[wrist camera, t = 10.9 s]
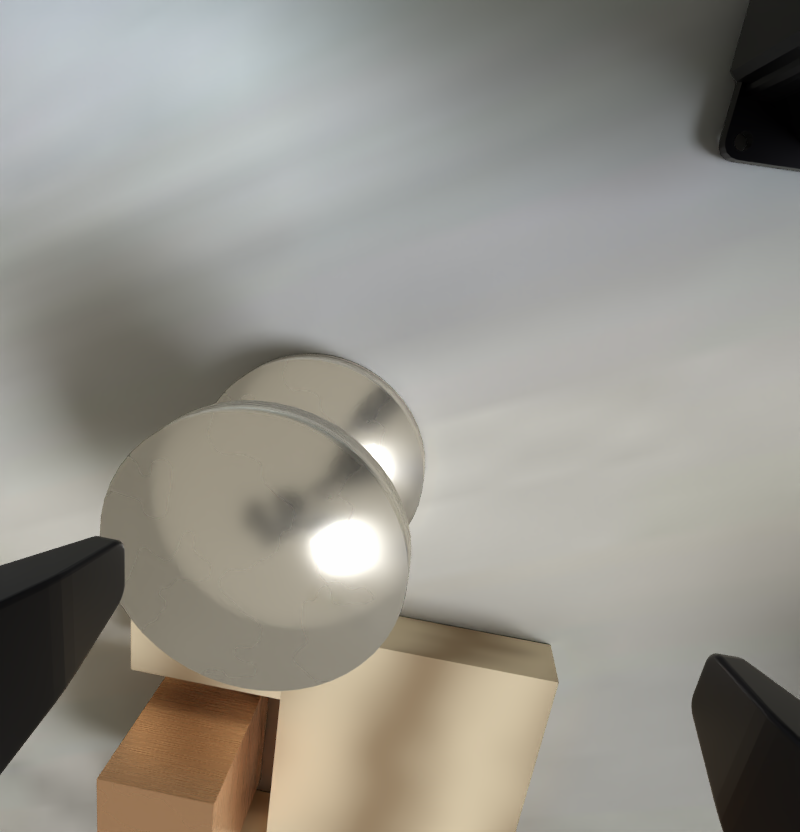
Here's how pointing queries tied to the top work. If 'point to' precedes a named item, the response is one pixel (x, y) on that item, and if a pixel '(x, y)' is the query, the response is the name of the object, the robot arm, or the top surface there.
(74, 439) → the top surface
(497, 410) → the top surface
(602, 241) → the top surface
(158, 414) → the top surface
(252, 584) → the bobbin
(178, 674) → the notched board
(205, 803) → the wooden block
